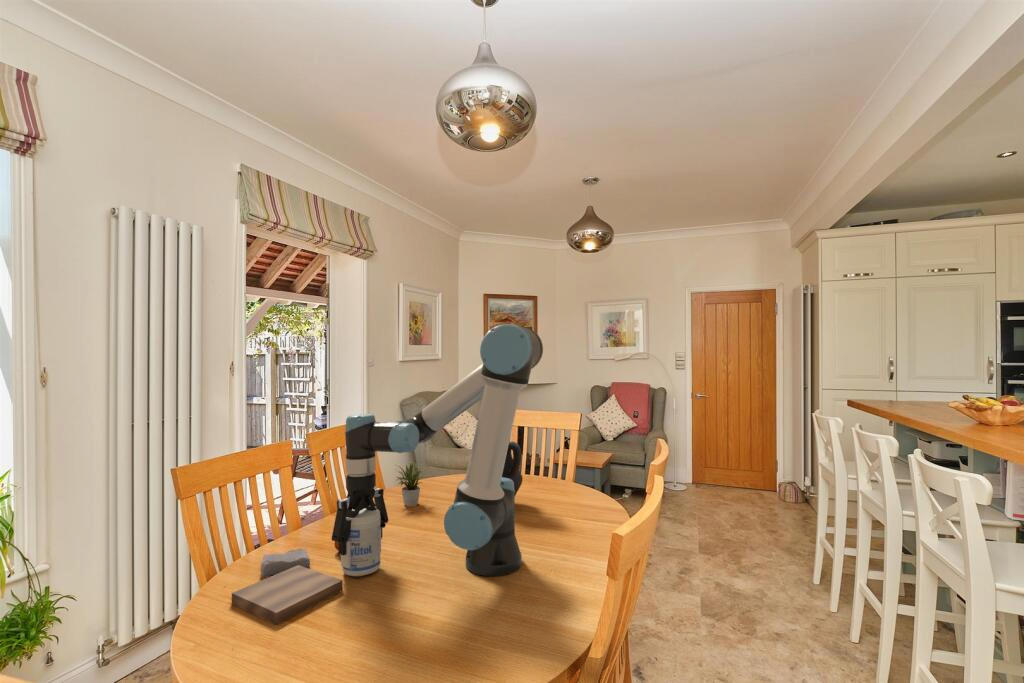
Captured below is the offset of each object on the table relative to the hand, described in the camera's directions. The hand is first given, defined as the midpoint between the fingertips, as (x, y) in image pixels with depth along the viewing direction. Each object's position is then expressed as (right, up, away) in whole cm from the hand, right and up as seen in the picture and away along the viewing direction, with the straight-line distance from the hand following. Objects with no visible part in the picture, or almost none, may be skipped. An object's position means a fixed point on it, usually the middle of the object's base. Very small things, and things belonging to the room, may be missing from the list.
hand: (361, 559), depth 125 cm
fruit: (-8, -4, +14) cm, 17 cm away
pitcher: (+34, -5, +53) cm, 63 cm away
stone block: (-22, -4, +4) cm, 23 cm away
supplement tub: (0, -3, 0) cm, 3 cm away
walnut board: (-13, -3, -13) cm, 19 cm away
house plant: (0, -5, +58) cm, 59 cm away
